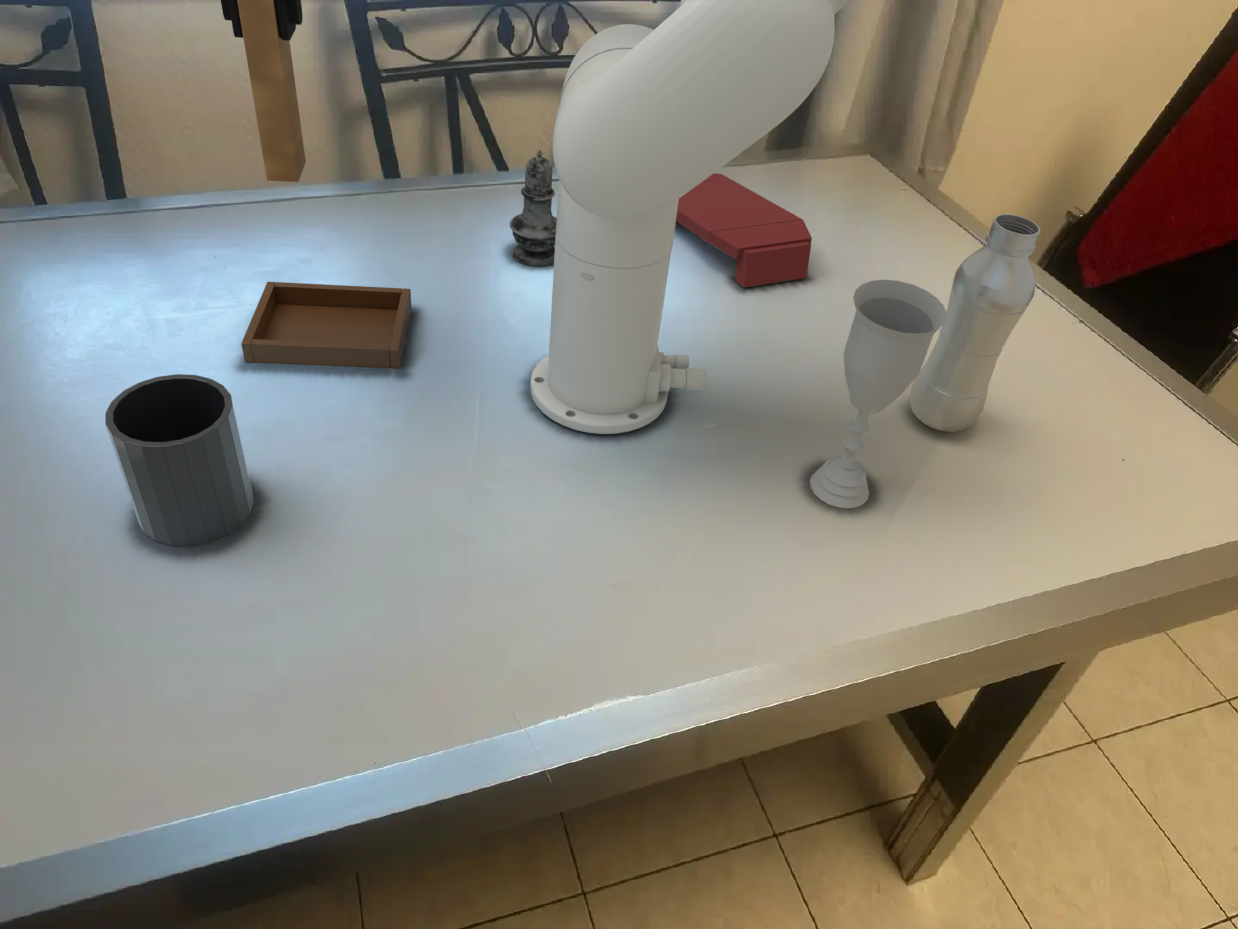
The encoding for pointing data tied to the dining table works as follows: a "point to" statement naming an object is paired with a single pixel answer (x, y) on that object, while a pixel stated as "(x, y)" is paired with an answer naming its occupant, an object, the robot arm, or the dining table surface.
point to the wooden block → (273, 91)
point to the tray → (329, 325)
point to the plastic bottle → (977, 326)
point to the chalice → (878, 372)
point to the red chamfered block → (747, 230)
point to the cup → (181, 458)
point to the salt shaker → (536, 216)
